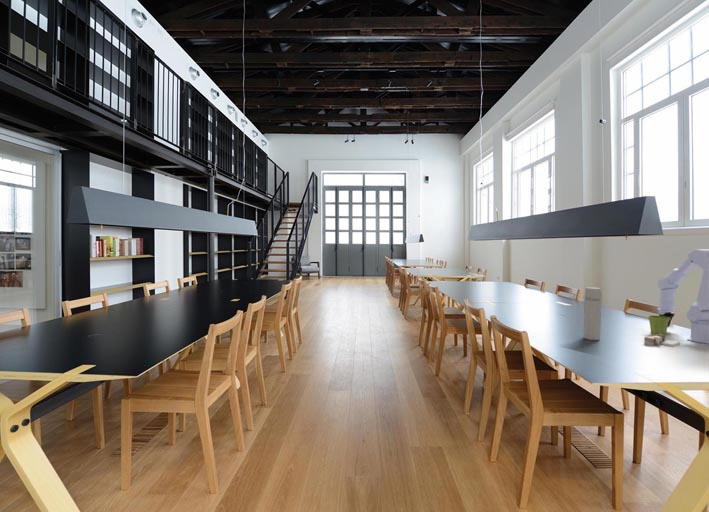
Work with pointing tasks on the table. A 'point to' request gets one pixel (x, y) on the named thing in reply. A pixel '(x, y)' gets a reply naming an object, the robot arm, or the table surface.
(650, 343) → the oak arm
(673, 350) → the table surface
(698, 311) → the robot arm
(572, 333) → the table surface
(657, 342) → the stop post
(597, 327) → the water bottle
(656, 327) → the plant pot
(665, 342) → the mounting plate
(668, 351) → the table surface
